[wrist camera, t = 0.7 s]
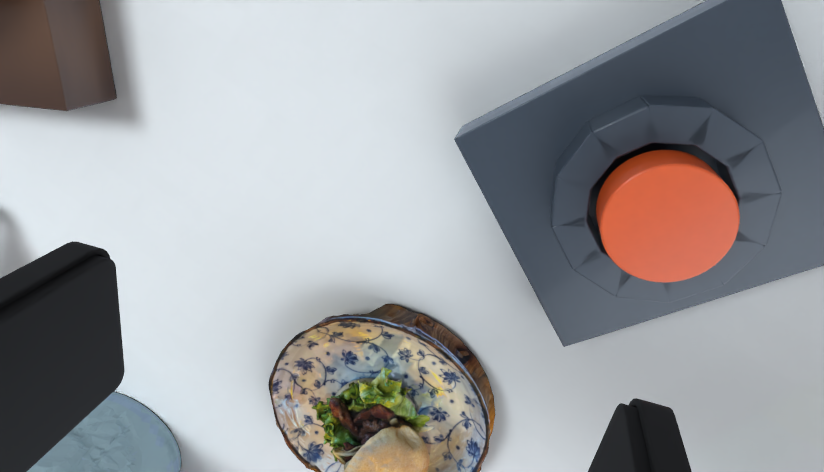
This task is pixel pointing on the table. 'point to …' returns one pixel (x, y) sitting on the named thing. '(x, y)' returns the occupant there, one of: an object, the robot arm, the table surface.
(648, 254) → the button
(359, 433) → the burger
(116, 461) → the blue-grey cup
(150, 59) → the table surface
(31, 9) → the timer panel
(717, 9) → the button block
